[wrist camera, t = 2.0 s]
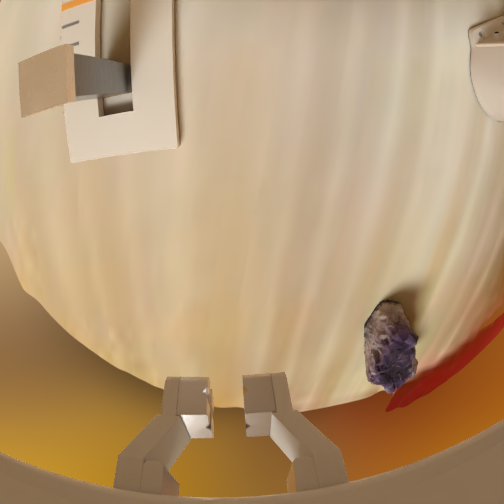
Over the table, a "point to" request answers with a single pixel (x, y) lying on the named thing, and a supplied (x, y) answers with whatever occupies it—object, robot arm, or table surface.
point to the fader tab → (68, 79)
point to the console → (142, 77)
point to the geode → (389, 346)
